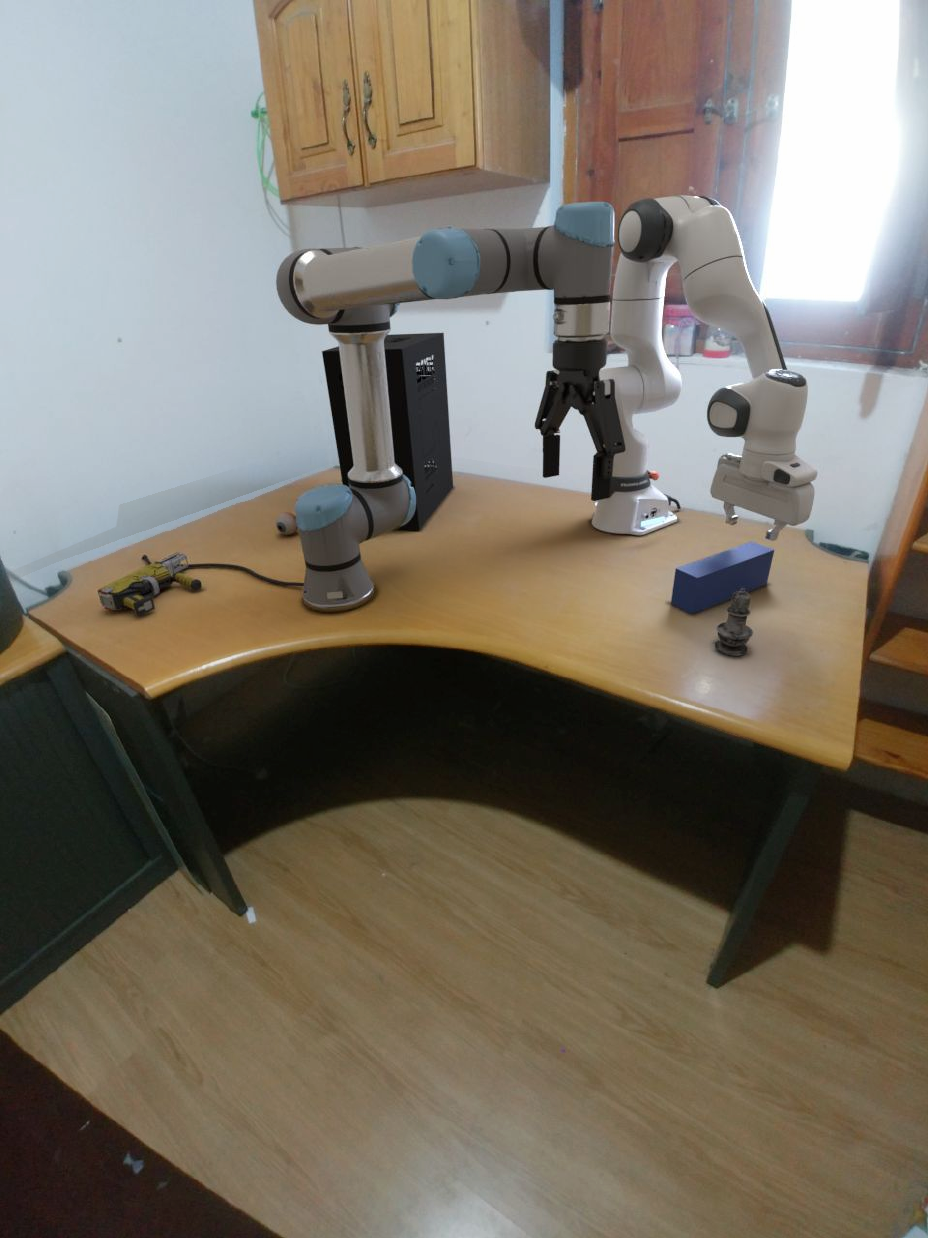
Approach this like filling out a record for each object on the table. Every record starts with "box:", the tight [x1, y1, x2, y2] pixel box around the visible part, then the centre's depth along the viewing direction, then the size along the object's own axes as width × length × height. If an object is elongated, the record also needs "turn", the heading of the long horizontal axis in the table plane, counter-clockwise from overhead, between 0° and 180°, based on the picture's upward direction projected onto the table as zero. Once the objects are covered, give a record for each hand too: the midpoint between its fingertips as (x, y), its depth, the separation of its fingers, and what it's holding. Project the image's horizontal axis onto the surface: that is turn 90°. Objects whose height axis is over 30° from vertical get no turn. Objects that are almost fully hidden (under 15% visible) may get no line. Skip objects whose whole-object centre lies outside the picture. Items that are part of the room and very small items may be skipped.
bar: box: [670, 541, 775, 615], centre depth 122 cm, size 22×5×8 cm, turn 120°
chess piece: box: [714, 587, 754, 657], centre depth 103 cm, size 6×6×12 cm
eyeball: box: [275, 511, 298, 536], centre depth 163 cm, size 6×6×6 cm
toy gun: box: [97, 551, 203, 617], centre depth 137 cm, size 5×24×15 cm
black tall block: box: [321, 332, 454, 532], centre depth 169 cm, size 38×20×45 cm, turn 167°
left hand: (574, 487), depth 94 cm, fingers open, 13 cm apart
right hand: (750, 531), depth 121 cm, fingers open, 8 cm apart
